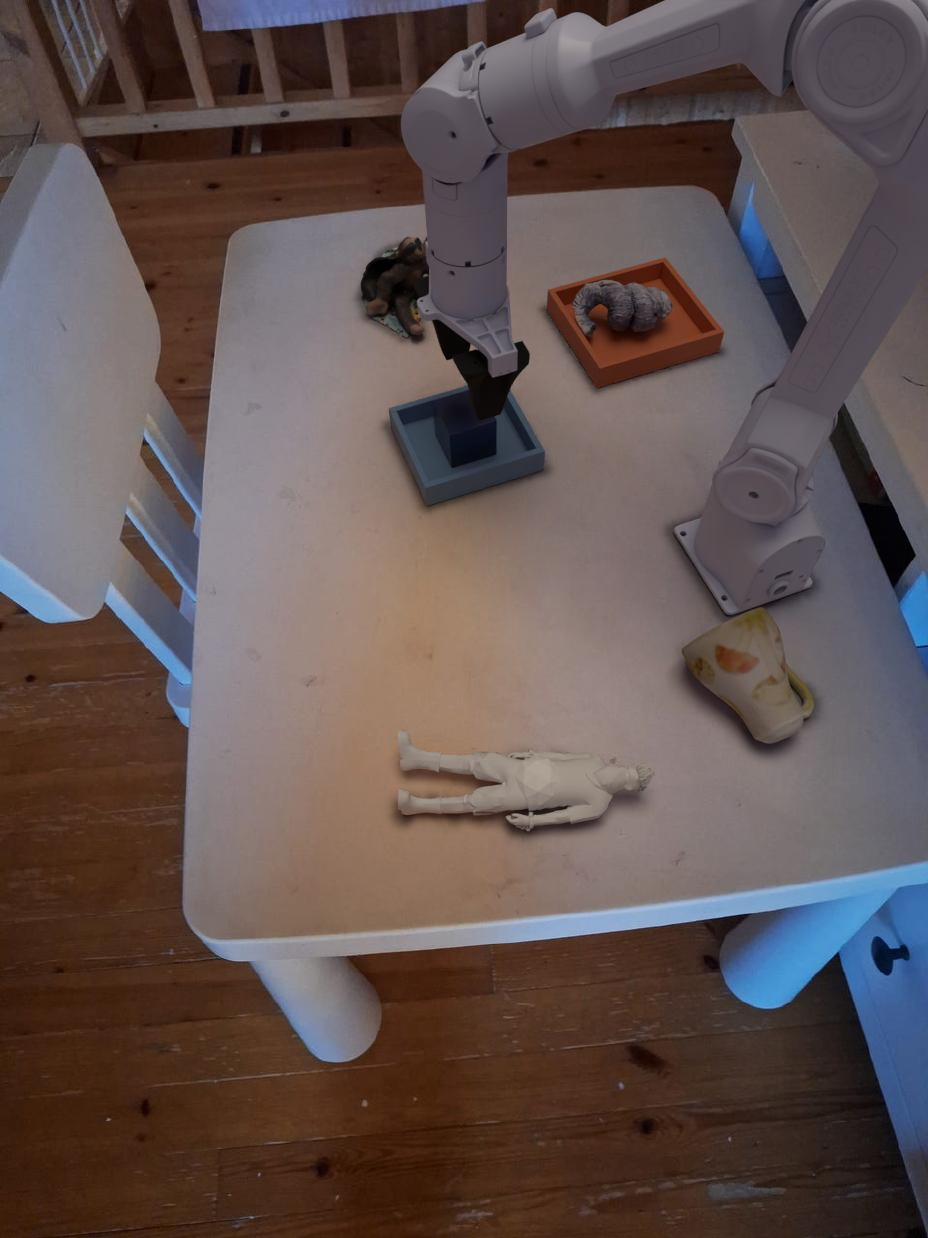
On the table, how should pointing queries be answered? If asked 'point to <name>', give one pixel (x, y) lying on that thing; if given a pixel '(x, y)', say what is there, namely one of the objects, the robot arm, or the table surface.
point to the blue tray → (442, 482)
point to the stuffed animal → (396, 286)
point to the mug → (751, 674)
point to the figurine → (524, 783)
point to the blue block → (463, 430)
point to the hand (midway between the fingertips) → (472, 384)
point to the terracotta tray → (630, 351)
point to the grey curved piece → (621, 305)
